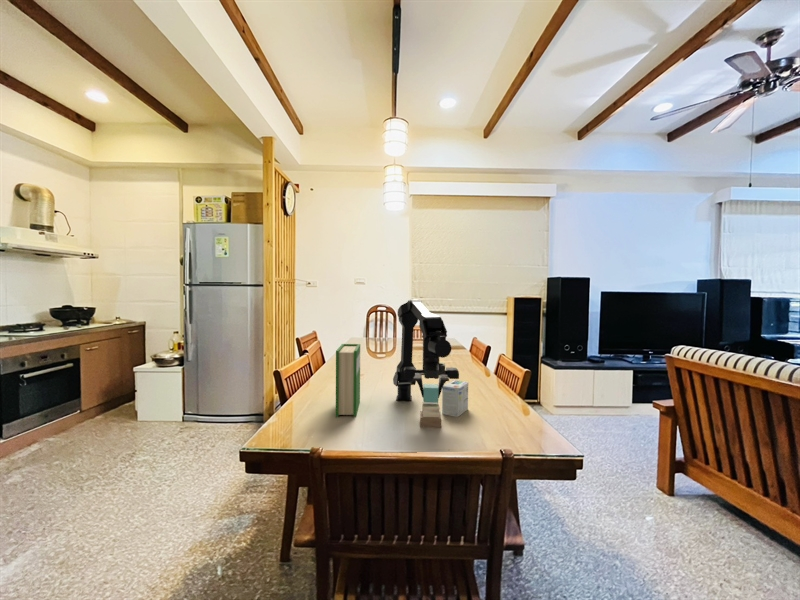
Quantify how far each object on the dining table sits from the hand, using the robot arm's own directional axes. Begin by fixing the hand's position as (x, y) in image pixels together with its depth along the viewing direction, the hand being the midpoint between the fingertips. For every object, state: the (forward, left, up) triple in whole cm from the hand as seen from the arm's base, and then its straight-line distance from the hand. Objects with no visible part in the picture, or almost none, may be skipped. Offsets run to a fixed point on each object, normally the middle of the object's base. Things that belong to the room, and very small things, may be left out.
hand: (430, 397), depth 125 cm
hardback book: (-13, -31, -9) cm, 35 cm away
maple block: (0, 0, -6) cm, 6 cm away
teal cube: (0, 0, -1) cm, 1 cm away
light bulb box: (-13, +10, -9) cm, 19 cm away
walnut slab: (0, 0, -9) cm, 9 cm away
